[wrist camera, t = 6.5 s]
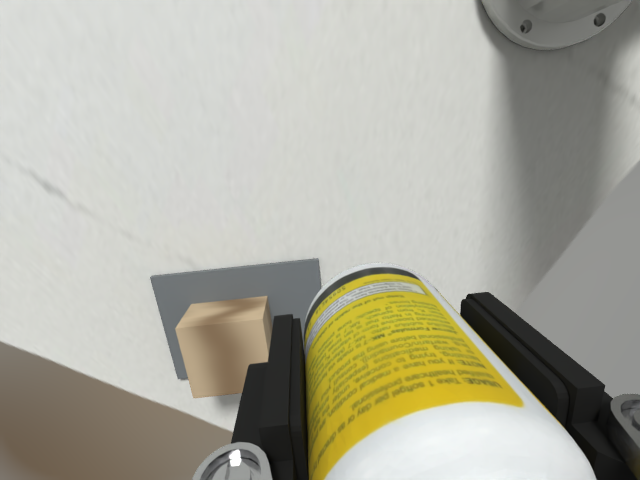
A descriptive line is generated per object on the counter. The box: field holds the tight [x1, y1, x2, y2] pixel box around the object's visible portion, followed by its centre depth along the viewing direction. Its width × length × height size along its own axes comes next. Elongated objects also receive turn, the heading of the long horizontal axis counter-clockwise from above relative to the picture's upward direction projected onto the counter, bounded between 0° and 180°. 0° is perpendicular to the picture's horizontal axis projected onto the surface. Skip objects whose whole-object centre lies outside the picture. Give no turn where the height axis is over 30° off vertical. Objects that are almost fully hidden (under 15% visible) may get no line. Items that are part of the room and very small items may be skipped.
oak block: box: [175, 296, 272, 398], centre depth 29 cm, size 7×7×4 cm
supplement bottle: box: [303, 263, 597, 480], centre depth 7 cm, size 5×5×8 cm
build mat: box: [150, 258, 321, 379], centre depth 31 cm, size 15×11×1 cm
